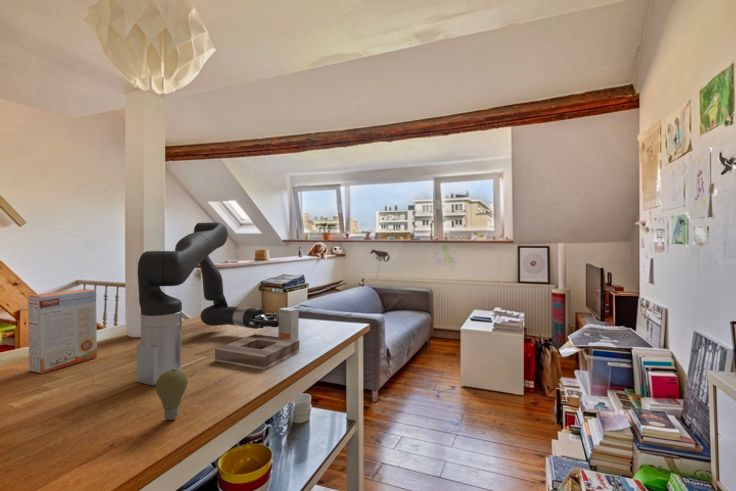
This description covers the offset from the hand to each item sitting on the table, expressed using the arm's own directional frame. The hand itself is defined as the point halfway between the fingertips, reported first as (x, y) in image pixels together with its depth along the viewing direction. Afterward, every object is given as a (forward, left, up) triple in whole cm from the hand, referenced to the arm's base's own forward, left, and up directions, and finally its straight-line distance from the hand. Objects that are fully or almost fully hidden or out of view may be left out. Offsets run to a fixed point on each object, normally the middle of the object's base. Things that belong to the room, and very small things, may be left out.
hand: (285, 321), depth 123 cm
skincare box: (0, -1, -7) cm, 8 cm away
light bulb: (-54, -10, -7) cm, 56 cm away
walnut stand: (-16, -1, -7) cm, 18 cm away
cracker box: (-44, +45, -7) cm, 63 cm away
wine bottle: (-14, +55, -7) cm, 57 cm away
